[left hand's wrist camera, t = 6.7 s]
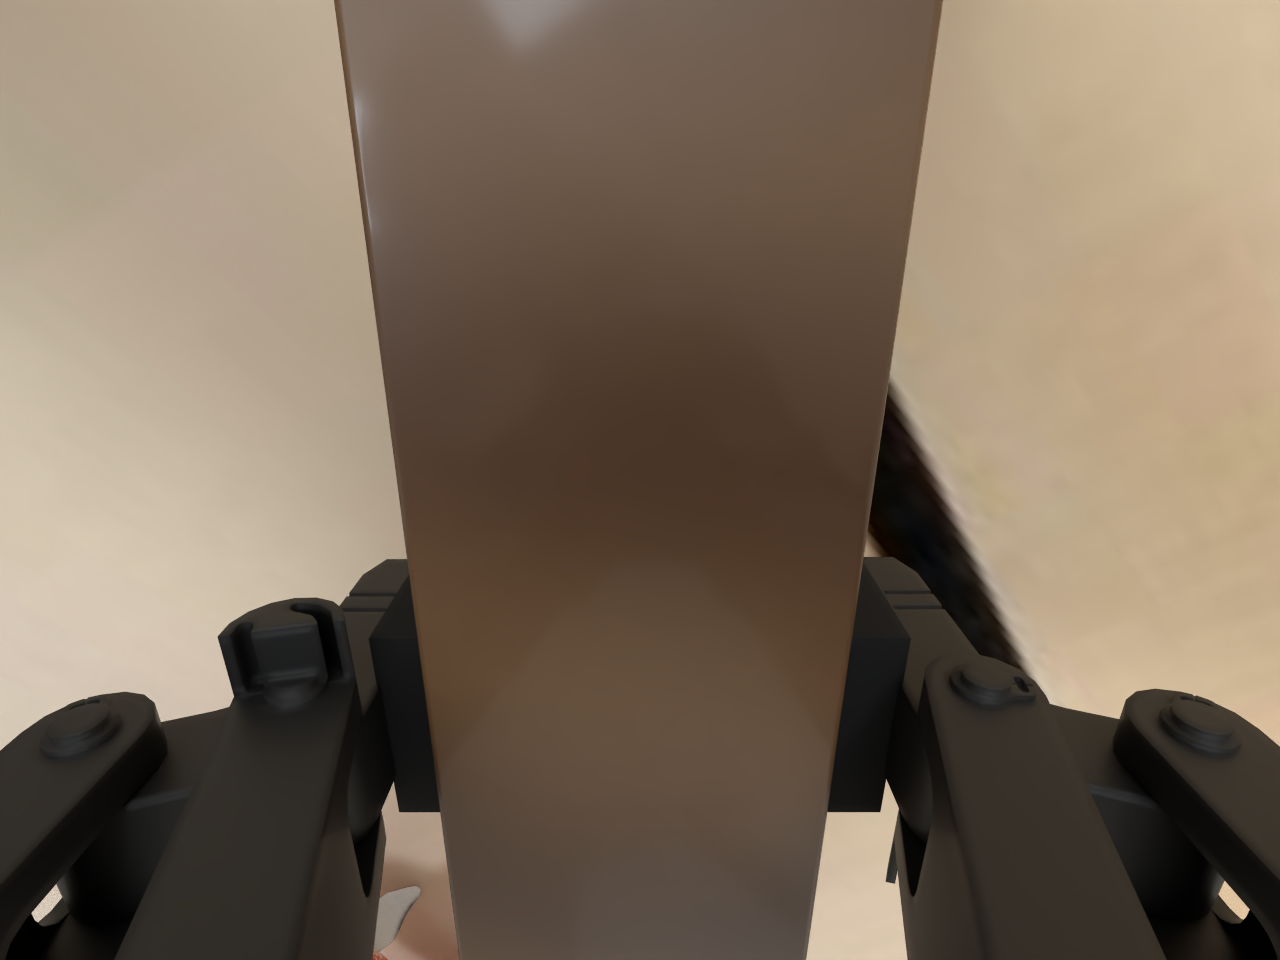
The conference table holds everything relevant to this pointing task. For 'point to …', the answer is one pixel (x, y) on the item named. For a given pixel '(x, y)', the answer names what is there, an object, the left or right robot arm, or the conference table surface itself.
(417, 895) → the fish
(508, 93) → the bar
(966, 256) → the conference table surface
